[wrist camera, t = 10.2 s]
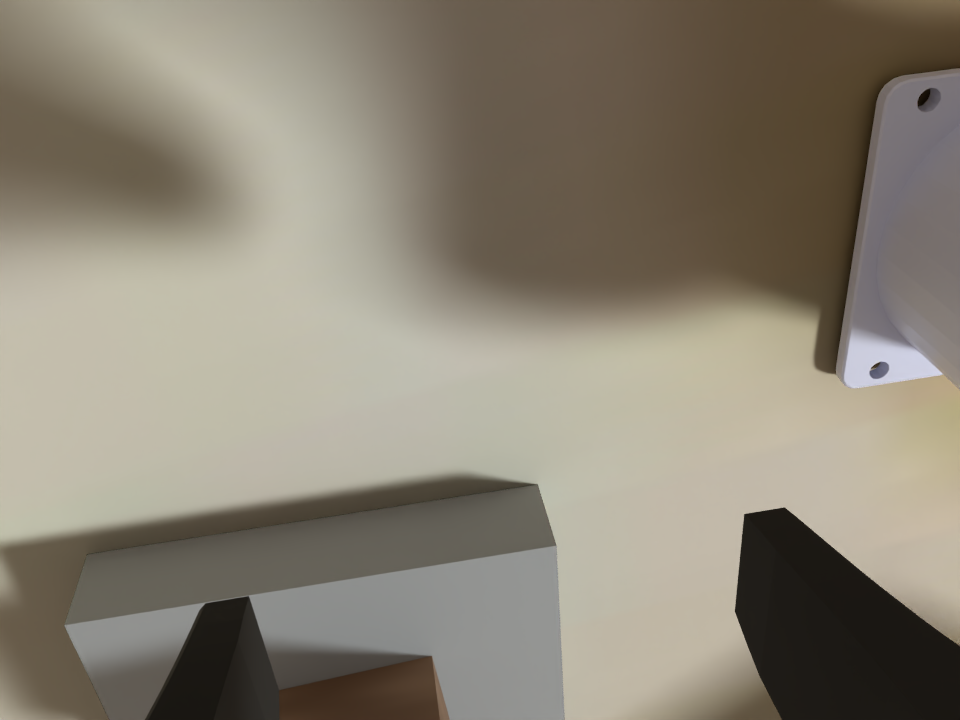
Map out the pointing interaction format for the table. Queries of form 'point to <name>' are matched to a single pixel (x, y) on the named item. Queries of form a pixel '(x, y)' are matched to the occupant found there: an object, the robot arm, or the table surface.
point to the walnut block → (370, 695)
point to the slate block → (346, 603)
